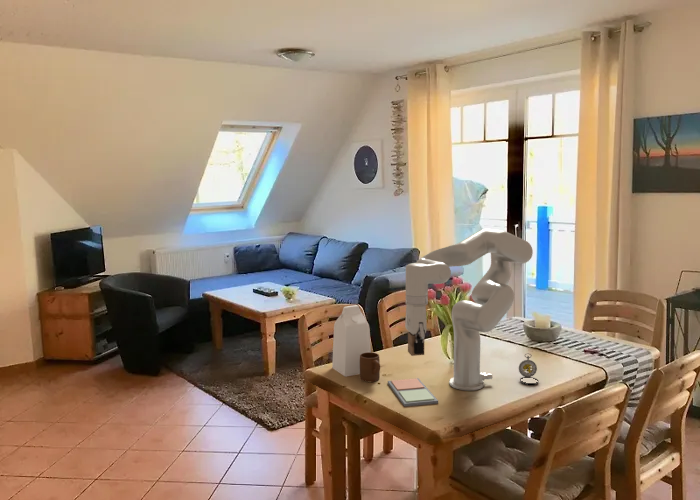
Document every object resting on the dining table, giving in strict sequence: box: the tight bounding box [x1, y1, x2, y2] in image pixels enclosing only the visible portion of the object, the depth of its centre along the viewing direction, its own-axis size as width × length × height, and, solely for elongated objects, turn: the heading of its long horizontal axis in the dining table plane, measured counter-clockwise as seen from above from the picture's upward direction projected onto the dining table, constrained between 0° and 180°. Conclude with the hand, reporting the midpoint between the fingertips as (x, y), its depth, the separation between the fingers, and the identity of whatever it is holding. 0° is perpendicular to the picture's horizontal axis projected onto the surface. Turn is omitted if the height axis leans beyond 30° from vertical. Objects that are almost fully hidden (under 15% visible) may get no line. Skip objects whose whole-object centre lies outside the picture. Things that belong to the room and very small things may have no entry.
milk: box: [331, 304, 372, 377], centre depth 235 cm, size 12×12×26 cm
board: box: [387, 377, 439, 407], centre depth 211 cm, size 12×22×1 cm, turn 11°
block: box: [407, 331, 425, 357], centre depth 203 cm, size 4×4×7 cm
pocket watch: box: [518, 352, 540, 385], centre depth 220 cm, size 8×8×10 cm
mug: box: [359, 351, 381, 383], centre depth 223 cm, size 12×8×9 cm, turn 23°
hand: (416, 350), depth 204 cm, fingers closed on block, 4 cm apart
